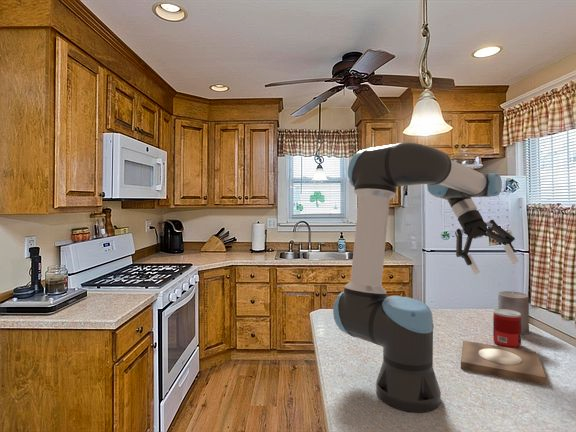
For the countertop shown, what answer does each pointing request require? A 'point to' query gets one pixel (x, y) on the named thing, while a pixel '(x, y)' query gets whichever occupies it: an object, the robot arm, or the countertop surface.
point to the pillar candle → (516, 306)
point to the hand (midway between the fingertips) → (496, 268)
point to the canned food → (507, 328)
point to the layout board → (502, 362)
